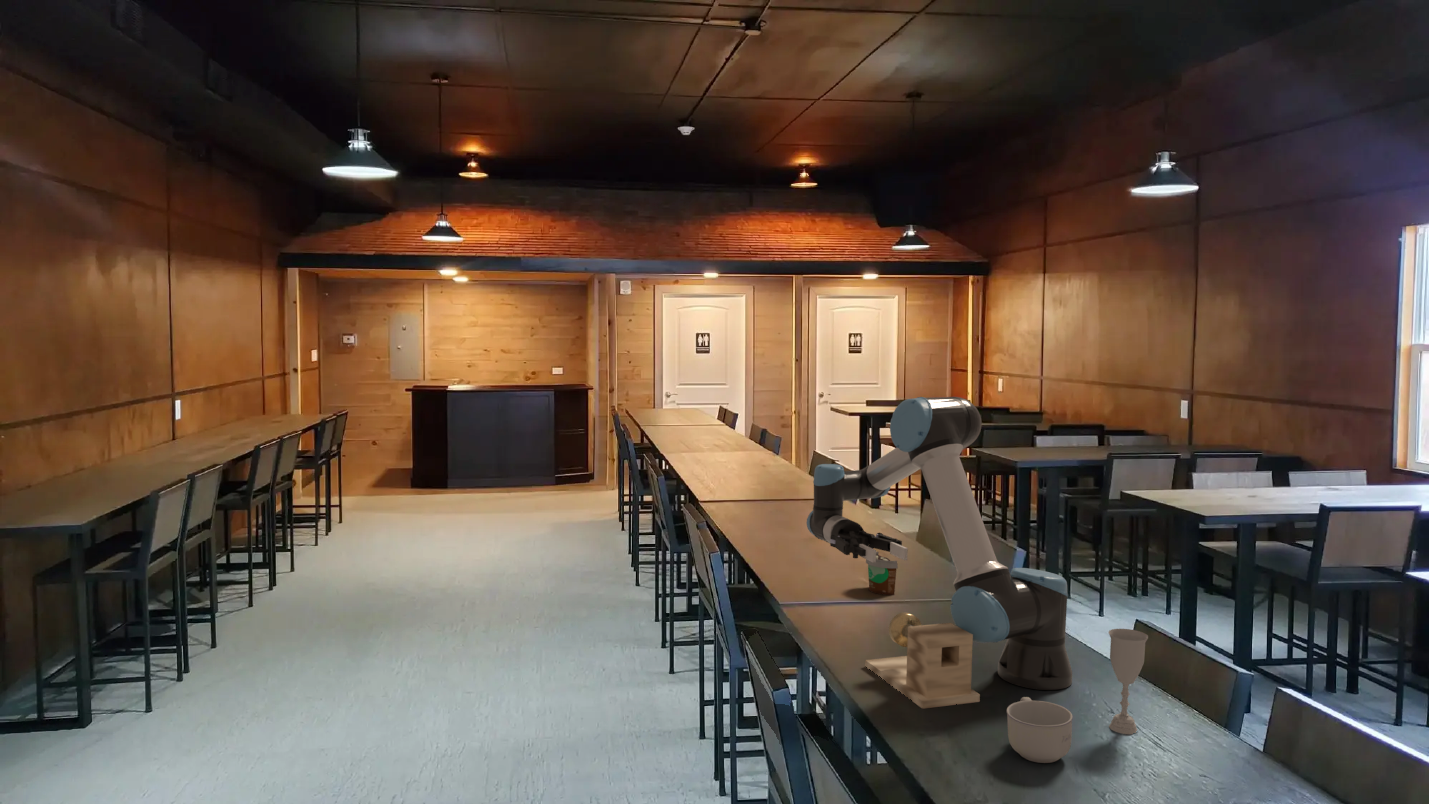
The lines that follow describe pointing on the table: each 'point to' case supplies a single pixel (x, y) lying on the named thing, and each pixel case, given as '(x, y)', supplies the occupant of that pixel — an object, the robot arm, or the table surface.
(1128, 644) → the chalice
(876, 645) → the table surface
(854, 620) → the table surface
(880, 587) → the food container
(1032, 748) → the teacup
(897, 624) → the shaft
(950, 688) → the bearing stand
